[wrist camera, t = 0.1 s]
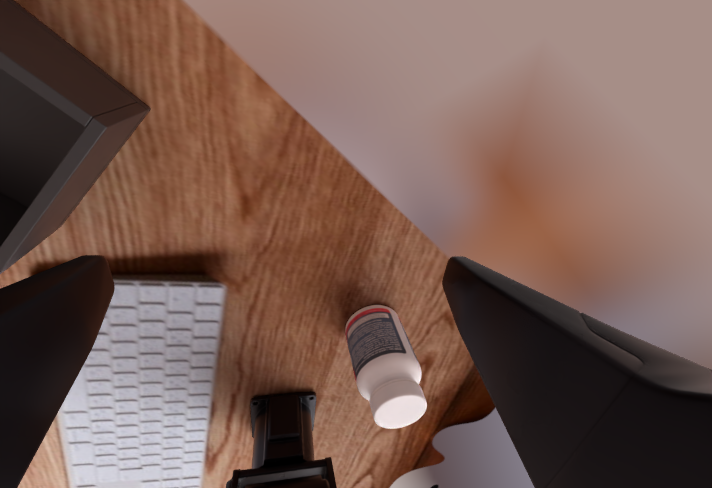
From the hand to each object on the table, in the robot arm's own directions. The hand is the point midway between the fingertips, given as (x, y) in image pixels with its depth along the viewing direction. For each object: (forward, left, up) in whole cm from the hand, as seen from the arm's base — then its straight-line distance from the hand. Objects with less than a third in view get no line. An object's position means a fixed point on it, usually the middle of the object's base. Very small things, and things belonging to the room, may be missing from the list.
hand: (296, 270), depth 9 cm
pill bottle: (-16, -8, -15) cm, 23 cm away
